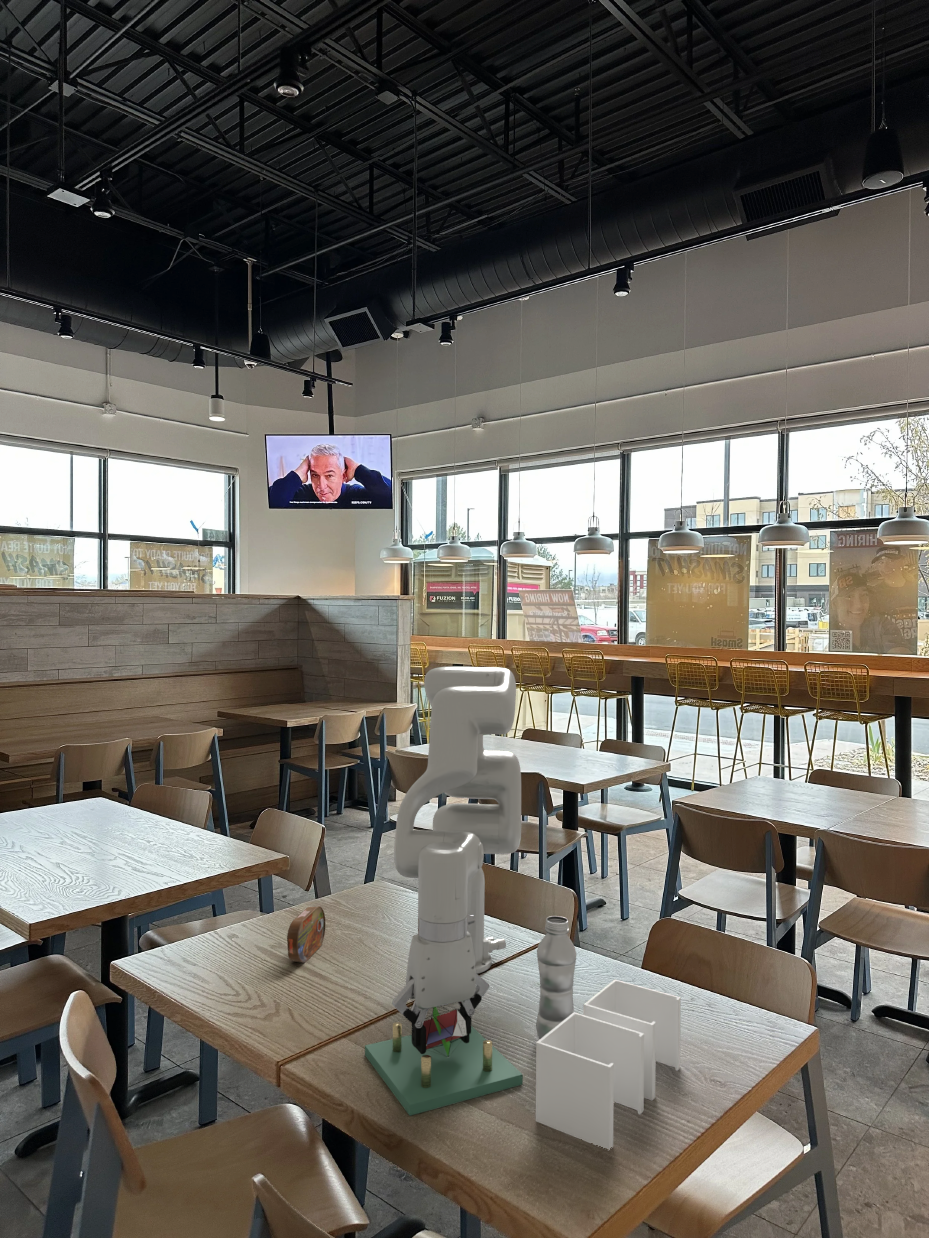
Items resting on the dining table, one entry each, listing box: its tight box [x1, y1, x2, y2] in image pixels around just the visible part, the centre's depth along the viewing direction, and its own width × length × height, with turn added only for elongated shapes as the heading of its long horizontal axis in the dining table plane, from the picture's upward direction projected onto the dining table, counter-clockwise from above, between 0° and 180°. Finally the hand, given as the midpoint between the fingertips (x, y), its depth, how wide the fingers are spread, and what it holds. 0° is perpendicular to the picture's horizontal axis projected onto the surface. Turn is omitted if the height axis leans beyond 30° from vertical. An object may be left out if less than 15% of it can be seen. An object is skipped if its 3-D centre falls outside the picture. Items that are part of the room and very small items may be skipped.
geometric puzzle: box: [423, 1005, 467, 1058], centre depth 129 cm, size 7×7×8 cm
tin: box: [286, 905, 326, 964], centre depth 172 cm, size 15×3×8 cm, turn 168°
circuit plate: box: [364, 1025, 524, 1116], centre depth 129 cm, size 18×18×2 cm
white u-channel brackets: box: [535, 979, 682, 1151], centre depth 123 cm, size 25×11×11 cm, turn 145°
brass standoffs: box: [392, 1008, 493, 1088], centre depth 129 cm, size 11×12×4 cm
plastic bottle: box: [535, 915, 577, 1041], centre depth 137 cm, size 6×7×20 cm
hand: (441, 1043), depth 129 cm, fingers closed on geometric puzzle, 6 cm apart
